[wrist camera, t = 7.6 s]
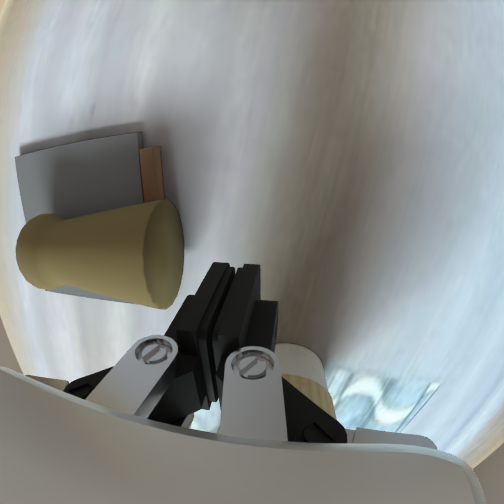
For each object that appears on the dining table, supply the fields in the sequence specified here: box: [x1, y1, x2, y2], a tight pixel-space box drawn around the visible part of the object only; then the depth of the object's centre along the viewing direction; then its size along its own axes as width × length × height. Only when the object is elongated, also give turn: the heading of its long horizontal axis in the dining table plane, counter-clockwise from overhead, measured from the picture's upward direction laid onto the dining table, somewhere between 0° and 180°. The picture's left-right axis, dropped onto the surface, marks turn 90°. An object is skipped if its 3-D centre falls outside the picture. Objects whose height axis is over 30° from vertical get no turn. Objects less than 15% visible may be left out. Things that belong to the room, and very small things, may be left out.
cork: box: [16, 200, 184, 309], centre depth 17 cm, size 6×6×11 cm
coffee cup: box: [216, 343, 336, 434], centre depth 16 cm, size 10×10×15 cm
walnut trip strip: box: [139, 146, 165, 203], centre depth 18 cm, size 1×10×1 cm, turn 2°
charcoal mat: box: [15, 132, 145, 304], centre depth 20 cm, size 12×12×1 cm
